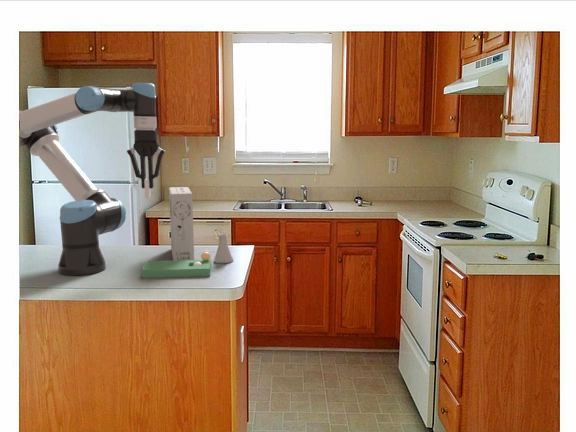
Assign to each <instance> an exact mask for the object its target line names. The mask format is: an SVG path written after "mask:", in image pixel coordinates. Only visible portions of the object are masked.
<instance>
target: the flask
mask: <svg viewBox="0 0 576 432" xmlns="http://www.w3.org/2000/svg"><path fill="white" fill-rule="evenodd" d="M218 238H219V239H218V240H219V241H218V246H217V250H216V253H215V255H214V259H213V263H216V264H229V263H232V262H233V261H234V257H233V255H232V252H231V250H230V247H229V243H228V240H227V238H228V234H227V233H219V234H218Z"/></svg>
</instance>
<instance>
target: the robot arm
mask: <svg viewBox="0 0 576 432" xmlns="http://www.w3.org/2000/svg"><path fill="white" fill-rule="evenodd" d="M156 99H157V94H156V86H155V84H153V83H151V82H150V83H149V82H134V83H133V84H132V87H131V89H130V88H128V89H124V88H123V89H121V88H120V89H119V88H118V89H117V88H110V87H100V86H93V85H86V86H81V87H80V88H78V90H77V91H76V92H75V93H71V94H68V95H66V96H62V97H60V98H57V99H53V100H52V101H49V102H44V103H42V104H39V105H36V106H34V107H31V108H28V109H25V110H20V109H19V121H20V130H19V136H20V146H19V147H25V148H26V150H27V151H28V152H29V153H30V155H31V156H34V157H38V158H39V159H41V161H42V162H43V163H44V165H46V167H47V168H48V169H49V171H50V172H51V174H53V176H54V177H55V178H56V179H57V180H58V182H59V184H61V185H62V186H63V188H64V189H65V190H66V191H67V193H69V195H70V196H71V197H72V198H73V199H74V200H73V201H70V202H67V203H64V204H63V205H61V207H60V210H59V220H60V221H59V222H60V231H61V232H60V233H61V245H62V246H61V247H62V251H61V254H60V258H59V262H58V265H57V266H58V267H57V268H58V269H57V270H58V273H59V274H60V275H64V276H85V275H92V274H97V273H99V272H102V271H104V270H105V269H106V265H107V264H106V260H105V257H104V255H103V253H102V251H101V248H100V241H99V236H100V235H103V234H106V233H107V234H108V233H112V232H114V231H116V230H118V229H120V228H121V227H122V226H123V225H124V223H125V221H126V217H127V216H126V215H127V211H126V208H125V205H124V204H123V202H122V201H121V200H120V199H117V198H114V197H110V196H109V195H108V193H107V192H106V191H105V190H104V189H98V188H97V187H96V186H95V185H94V183H93V182H92V181H91V180H90V178H88V176H87V175H86V173H84V171H83V170H82V168H80V166H79V165H78V164H77V163H76V162H75V160H73V158H72V157H71V156H70V154H69V153H68V152H67V151H66V150H65V149H64V147H63V146H62V145H61V144H60V137H59V133H58V127H57V125H59V124H63V123H65V122H69V121H71V120H74V119H77V118H81V117H82V116H86V115H89V114H90V115H91V114H93V113H97V112H108V113H109V112H110V113H124V112H125V113H127V112H130V113H133V128H134V131H133V133H134V135H133V136H134V137H133V138H134V142H133V145H132V146H133V147H131V148H130V149H127V150H126V153H127V154H128V156H129V158H130V160H131V161H130V162H131V165H132V167H133V172H134V176H135V178H139V179H140V180H141V181H140V182H141V188H142V189H144V199H150V198H151V197H152V195H151V194H152V192H151V191H152V190H151V189H154V179H155V178H158V177H159V175H160V170H161V167H162V166H161V165H162V160H163V156H164V155H165V154H166V150H165V149H162V148H161V147H160V145H159V143H158V131H157V130H156V129H157V127H158V125H157V124H158V123H157V122H158V121H157V103H156V102H157V100H156ZM156 152H157V159H156V164H155V167H154V155H155V154H156ZM136 153H137V154H138V156H139V160H140V161H139V162H140V168H139V164H138V161H137V158H136V155H135V154H136ZM146 157H147V165H148V166H146ZM147 169H148V173H147V172H146V170H147ZM146 173H147V174H148V177H147V174H146Z"/></svg>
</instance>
